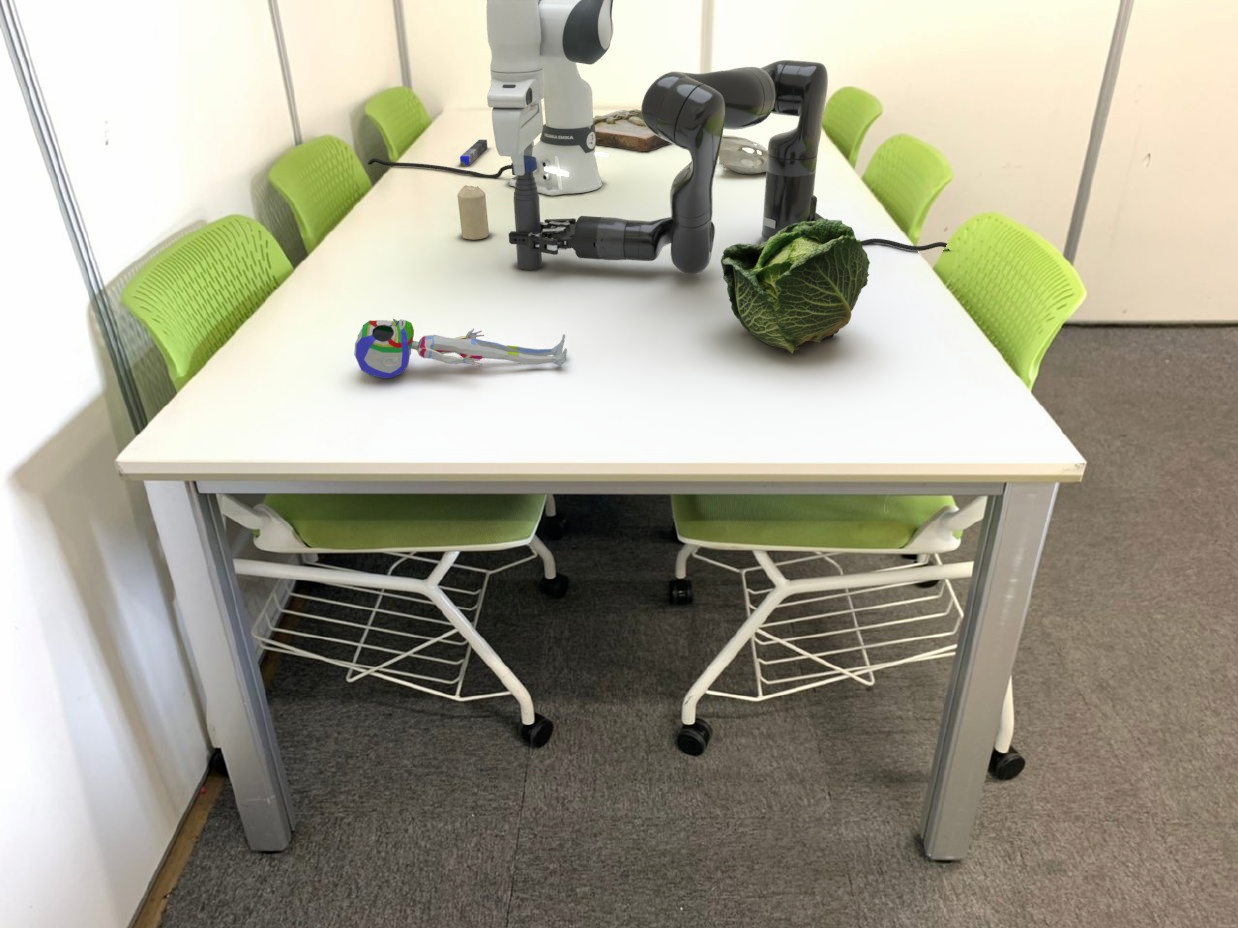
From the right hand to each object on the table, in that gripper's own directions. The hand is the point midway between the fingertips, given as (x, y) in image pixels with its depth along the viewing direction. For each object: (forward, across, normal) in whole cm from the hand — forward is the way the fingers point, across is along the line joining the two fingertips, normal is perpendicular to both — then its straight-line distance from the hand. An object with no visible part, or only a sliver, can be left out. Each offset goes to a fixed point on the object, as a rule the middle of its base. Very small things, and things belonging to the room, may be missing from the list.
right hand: (514, 233), depth 166 cm
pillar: (+38, -78, +6) cm, 87 cm away
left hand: (-3, 0, -12) cm, 12 cm away
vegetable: (-53, +24, +6) cm, 58 cm away
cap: (-3, 0, -13) cm, 14 cm away
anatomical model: (-37, -75, +6) cm, 84 cm away
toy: (-6, +44, +6) cm, 45 cm away
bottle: (-3, 0, +6) cm, 7 cm away
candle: (+14, -15, +6) cm, 21 cm away
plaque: (+1, -109, +6) cm, 109 cm away
